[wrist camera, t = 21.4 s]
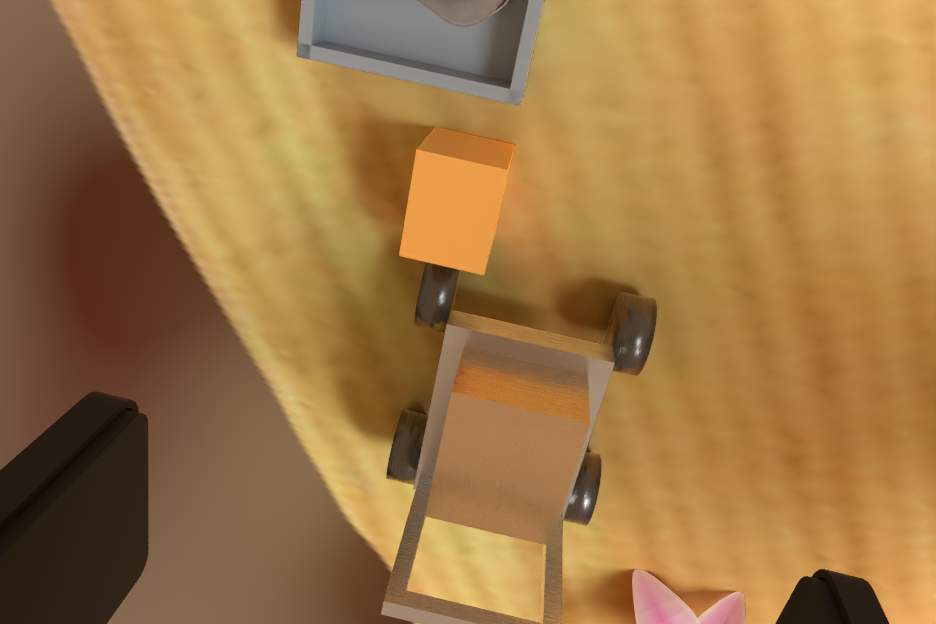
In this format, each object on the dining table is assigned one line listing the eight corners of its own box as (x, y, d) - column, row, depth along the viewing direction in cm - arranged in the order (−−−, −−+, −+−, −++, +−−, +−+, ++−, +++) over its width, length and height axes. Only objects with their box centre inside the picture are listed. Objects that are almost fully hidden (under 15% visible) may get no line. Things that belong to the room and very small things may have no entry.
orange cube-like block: (515, 144, 36) (507, 170, 31) (494, 238, 38) (483, 275, 33) (435, 126, 36) (416, 149, 31) (418, 221, 38) (398, 255, 33)
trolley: (651, 286, 38) (692, 443, 25) (581, 493, 44) (587, 700, 32) (437, 237, 38) (374, 369, 26) (397, 450, 44) (332, 638, 32)
